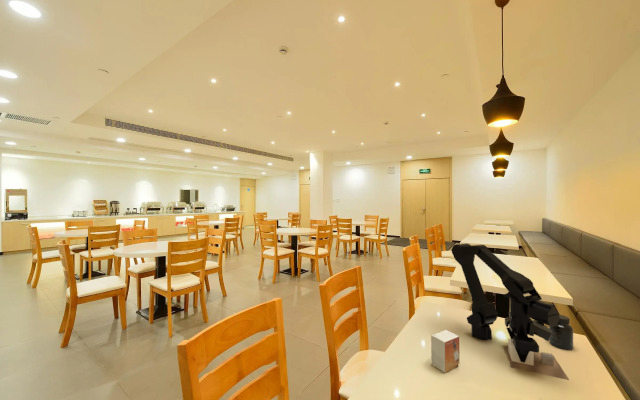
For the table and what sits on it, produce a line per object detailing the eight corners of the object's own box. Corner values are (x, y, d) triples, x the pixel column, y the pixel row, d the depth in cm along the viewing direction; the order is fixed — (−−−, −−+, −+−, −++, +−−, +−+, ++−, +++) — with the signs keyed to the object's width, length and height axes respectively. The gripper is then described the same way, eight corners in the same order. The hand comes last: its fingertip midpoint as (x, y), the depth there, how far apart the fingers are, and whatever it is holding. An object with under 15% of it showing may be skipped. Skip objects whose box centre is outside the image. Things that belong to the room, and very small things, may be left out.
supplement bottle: (578, 353, 96) (578, 321, 96) (556, 352, 98) (556, 320, 97) (564, 343, 103) (564, 313, 103) (545, 341, 104) (544, 312, 104)
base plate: (511, 370, 88) (511, 367, 88) (502, 347, 101) (502, 345, 101) (569, 383, 82) (569, 380, 82) (552, 357, 94) (552, 354, 94)
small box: (444, 373, 87) (444, 342, 87) (430, 364, 92) (430, 334, 92) (460, 366, 91) (459, 336, 91) (445, 357, 96) (445, 329, 96)
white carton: (533, 365, 89) (533, 350, 89) (512, 361, 91) (511, 346, 91) (528, 355, 94) (528, 341, 94) (508, 351, 97) (508, 338, 97)
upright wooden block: (542, 363, 90) (542, 353, 90) (541, 361, 91) (541, 351, 91) (553, 366, 88) (553, 355, 88) (552, 363, 89) (552, 353, 89)
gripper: (560, 330, 81) (560, 380, 81) (540, 306, 97) (540, 348, 98) (515, 323, 85) (516, 370, 86) (504, 301, 102) (504, 341, 102)
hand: (520, 356), depth 93 cm, fingers closed on white carton, 6 cm apart
